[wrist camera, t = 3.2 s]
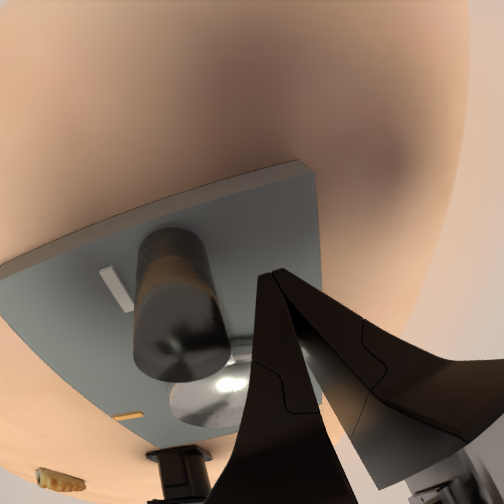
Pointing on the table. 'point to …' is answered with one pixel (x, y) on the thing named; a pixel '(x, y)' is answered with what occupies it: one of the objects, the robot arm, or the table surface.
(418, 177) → the table surface
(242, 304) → the base plate
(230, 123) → the table surface
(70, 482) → the pastry
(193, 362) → the silver handled piece
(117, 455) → the table surface
